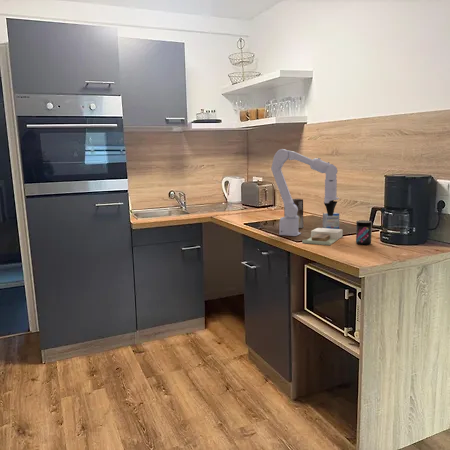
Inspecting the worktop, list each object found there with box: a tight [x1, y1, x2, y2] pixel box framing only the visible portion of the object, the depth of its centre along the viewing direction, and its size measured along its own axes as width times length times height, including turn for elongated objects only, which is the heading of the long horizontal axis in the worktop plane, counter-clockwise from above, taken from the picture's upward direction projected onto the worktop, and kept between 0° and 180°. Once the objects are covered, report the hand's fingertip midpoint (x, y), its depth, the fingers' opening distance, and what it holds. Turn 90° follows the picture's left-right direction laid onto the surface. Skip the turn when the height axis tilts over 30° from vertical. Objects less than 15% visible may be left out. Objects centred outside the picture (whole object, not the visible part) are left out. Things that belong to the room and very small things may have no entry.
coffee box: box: [283, 198, 304, 229], centre depth 234 cm, size 9×6×16 cm
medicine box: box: [322, 212, 340, 229], centre depth 228 cm, size 8×4×9 cm, turn 101°
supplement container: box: [355, 219, 373, 246], centre depth 190 cm, size 7×7×10 cm
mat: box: [301, 236, 338, 246], centre depth 198 cm, size 13×12×2 cm
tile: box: [312, 234, 330, 242], centre depth 199 cm, size 6×9×2 cm, turn 150°
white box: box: [310, 227, 343, 241], centre depth 207 cm, size 13×10×4 cm
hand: (330, 215), depth 211 cm, fingers closed
